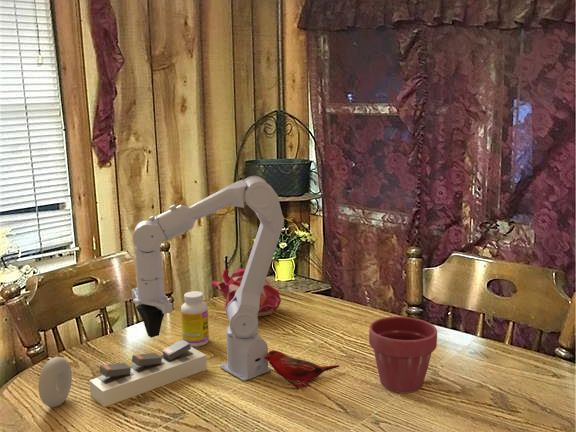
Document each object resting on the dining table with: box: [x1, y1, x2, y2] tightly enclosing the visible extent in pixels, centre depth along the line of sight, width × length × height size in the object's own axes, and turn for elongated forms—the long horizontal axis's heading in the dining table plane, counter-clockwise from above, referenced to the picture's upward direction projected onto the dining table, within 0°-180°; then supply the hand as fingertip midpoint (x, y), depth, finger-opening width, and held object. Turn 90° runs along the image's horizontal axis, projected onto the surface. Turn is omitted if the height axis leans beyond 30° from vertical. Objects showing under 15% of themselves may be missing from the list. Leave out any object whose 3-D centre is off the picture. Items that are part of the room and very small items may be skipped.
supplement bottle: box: [180, 290, 210, 348], centre depth 156 cm, size 7×7×13 cm
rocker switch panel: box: [88, 347, 208, 408], centre depth 136 cm, size 6×25×4 cm, turn 131°
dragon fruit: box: [211, 268, 282, 317], centre depth 175 cm, size 14×12×20 cm
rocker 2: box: [131, 352, 162, 366], centre depth 137 cm, size 3×6×2 cm, turn 131°
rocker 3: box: [161, 339, 191, 360], centre depth 141 cm, size 3×6×2 cm, turn 131°
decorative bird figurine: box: [263, 350, 340, 388], centre depth 137 cm, size 3×18×10 cm
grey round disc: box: [37, 356, 73, 408], centre depth 127 cm, size 10×4×10 cm, turn 173°
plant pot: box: [368, 316, 438, 394], centre depth 133 cm, size 14×14×13 cm
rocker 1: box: [98, 362, 131, 377], centre depth 132 cm, size 3×6×2 cm, turn 131°
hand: (153, 335), depth 137 cm, fingers closed
